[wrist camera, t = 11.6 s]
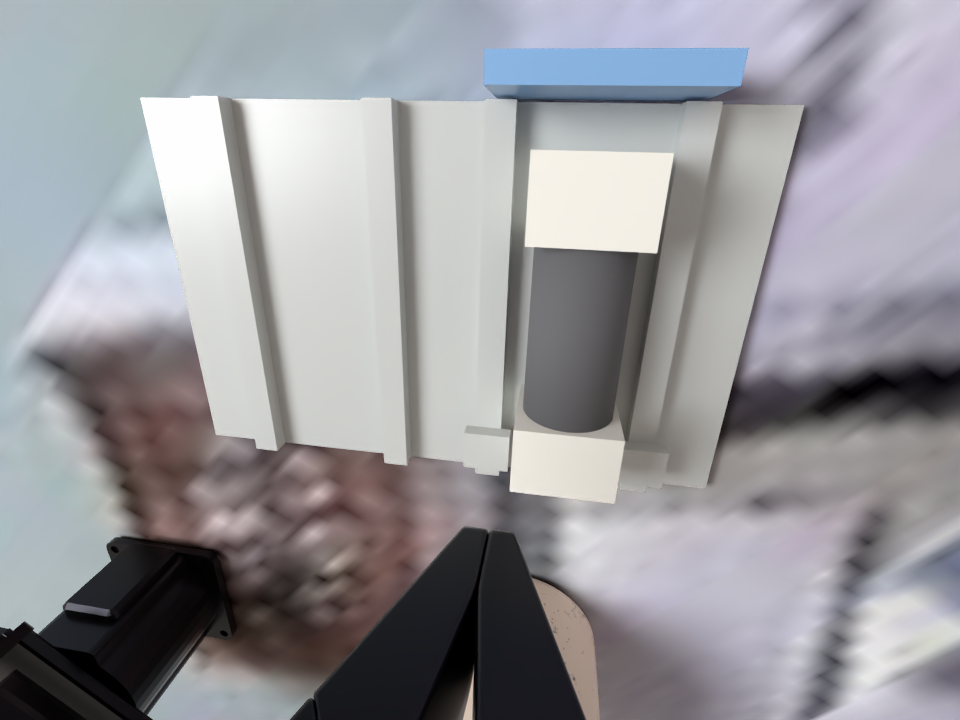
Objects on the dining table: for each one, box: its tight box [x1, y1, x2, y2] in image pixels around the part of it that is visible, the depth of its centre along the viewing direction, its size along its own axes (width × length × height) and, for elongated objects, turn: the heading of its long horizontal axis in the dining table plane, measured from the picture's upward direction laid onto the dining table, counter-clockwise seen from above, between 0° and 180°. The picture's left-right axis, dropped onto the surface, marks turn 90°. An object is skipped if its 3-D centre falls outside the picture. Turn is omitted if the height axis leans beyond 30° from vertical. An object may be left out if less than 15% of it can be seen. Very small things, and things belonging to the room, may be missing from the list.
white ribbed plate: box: [141, 48, 804, 492], centre depth 17 cm, size 15×22×3 cm
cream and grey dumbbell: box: [510, 150, 674, 504], centre depth 16 cm, size 11×4×4 cm, turn 179°
